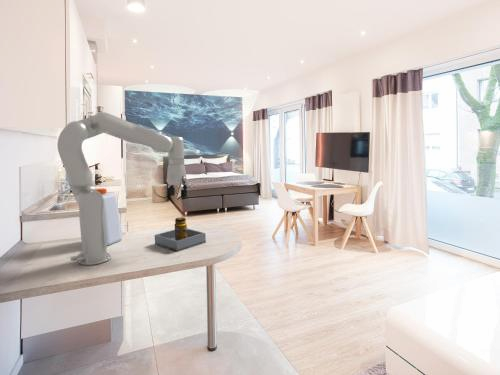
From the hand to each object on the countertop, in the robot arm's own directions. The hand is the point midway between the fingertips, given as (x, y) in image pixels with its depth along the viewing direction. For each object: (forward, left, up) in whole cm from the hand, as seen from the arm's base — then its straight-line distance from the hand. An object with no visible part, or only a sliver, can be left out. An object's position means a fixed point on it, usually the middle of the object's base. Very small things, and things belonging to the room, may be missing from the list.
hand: (177, 196), depth 158 cm
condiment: (0, 0, -24) cm, 24 cm away
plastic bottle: (-23, +34, -25) cm, 48 cm away
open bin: (0, 0, -24) cm, 24 cm away
